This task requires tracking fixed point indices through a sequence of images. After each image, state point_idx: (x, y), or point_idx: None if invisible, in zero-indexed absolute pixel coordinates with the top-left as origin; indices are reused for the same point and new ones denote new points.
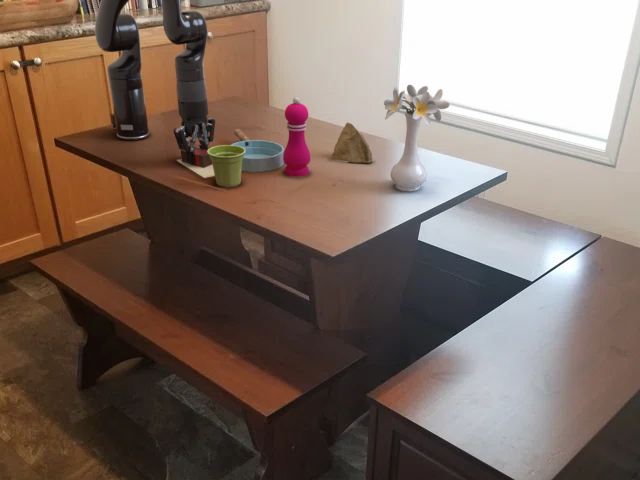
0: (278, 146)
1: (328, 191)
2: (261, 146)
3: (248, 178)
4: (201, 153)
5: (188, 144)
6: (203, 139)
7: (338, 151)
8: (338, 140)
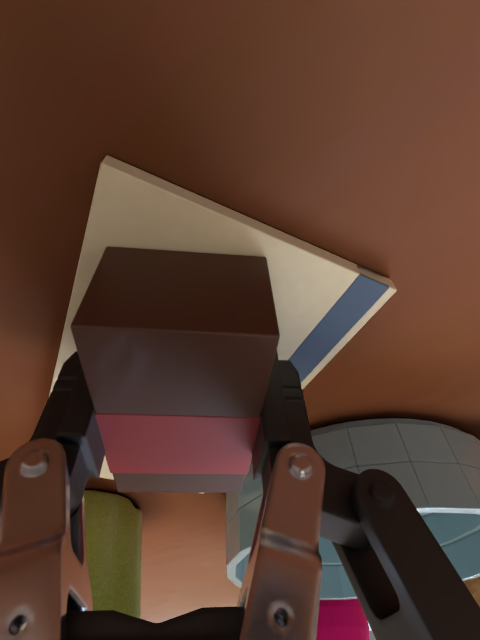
0: (462, 568)
1: (234, 592)
2: None
3: (190, 516)
4: (155, 469)
5: (64, 505)
6: (250, 555)
7: (475, 596)
8: None
